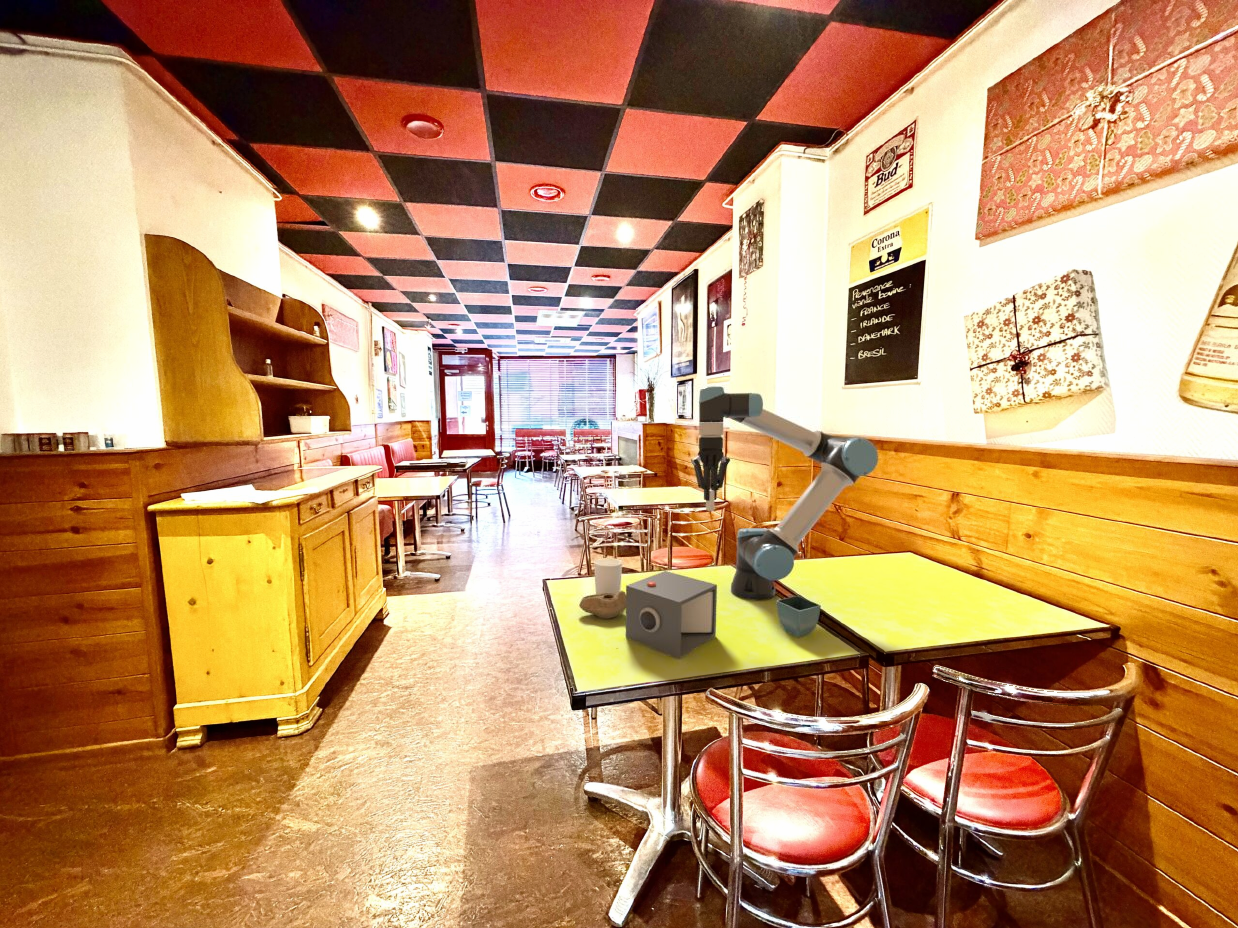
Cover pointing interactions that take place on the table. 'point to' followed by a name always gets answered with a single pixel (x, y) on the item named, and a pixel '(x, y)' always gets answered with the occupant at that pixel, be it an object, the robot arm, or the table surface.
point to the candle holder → (608, 575)
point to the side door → (698, 614)
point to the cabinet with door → (665, 612)
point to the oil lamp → (604, 604)
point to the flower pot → (798, 615)
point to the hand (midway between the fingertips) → (710, 510)
